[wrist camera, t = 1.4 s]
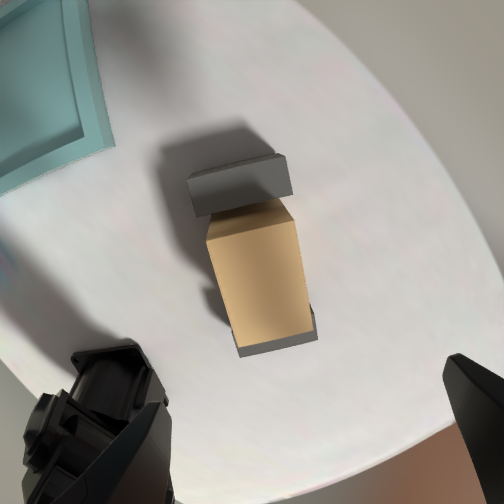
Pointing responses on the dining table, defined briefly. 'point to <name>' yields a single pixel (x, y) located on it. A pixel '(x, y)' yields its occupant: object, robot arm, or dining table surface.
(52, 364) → the dining table surface
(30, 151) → the teal tray
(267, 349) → the pair of grey blocks
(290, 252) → the wooden block
